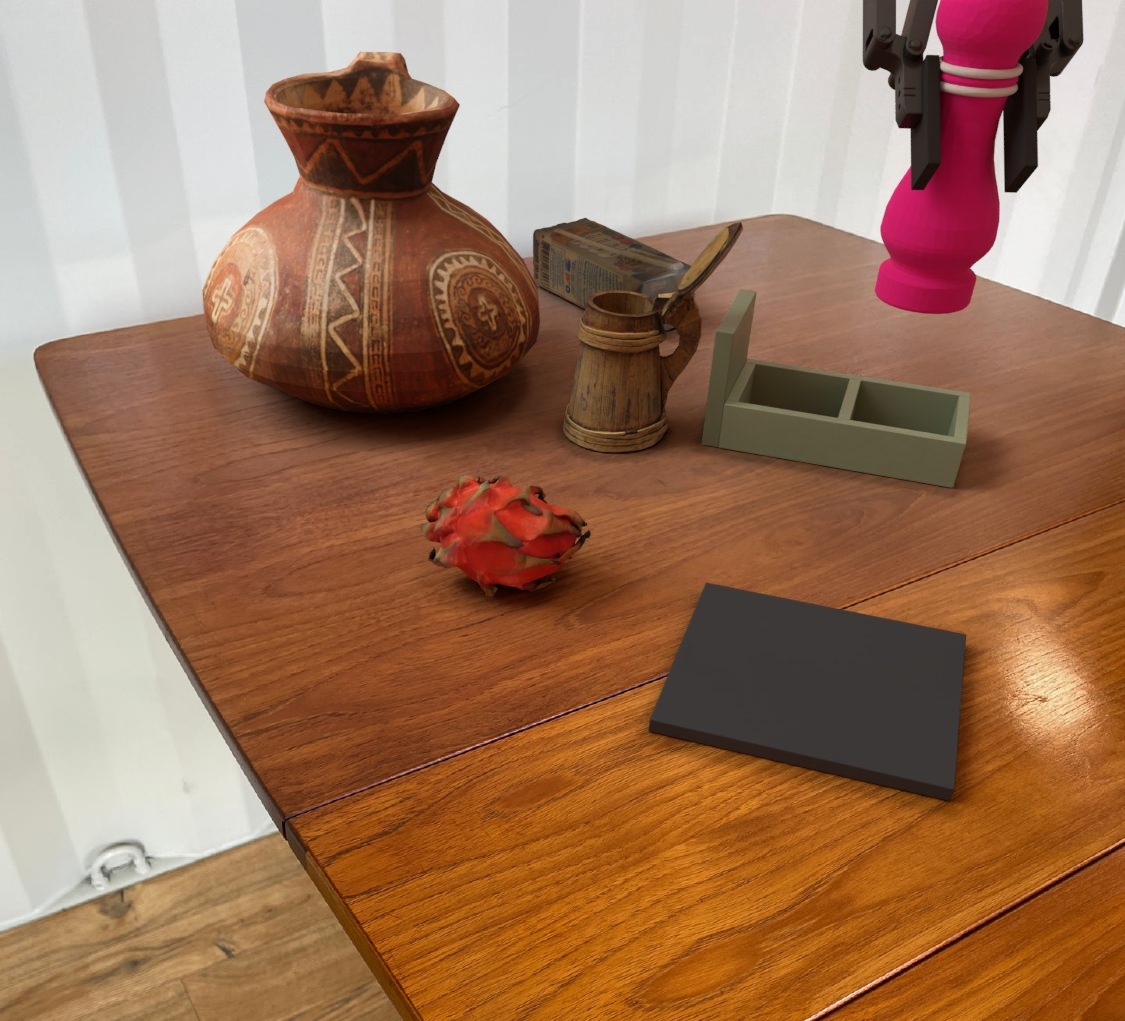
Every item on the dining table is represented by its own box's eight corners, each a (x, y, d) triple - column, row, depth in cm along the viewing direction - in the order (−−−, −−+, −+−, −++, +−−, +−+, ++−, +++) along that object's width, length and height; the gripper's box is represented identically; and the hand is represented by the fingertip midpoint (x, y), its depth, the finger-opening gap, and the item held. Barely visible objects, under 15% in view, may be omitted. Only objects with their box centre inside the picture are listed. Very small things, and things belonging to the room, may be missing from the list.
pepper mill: (971, 325, 69) (1082, -67, 55) (858, 307, 71) (938, -77, 57) (981, 288, 74) (1084, -78, 60) (875, 273, 76) (952, -87, 62)
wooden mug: (713, 463, 92) (743, 240, 80) (556, 448, 93) (563, 226, 81) (716, 418, 99) (744, 205, 87) (569, 404, 100) (577, 193, 88)
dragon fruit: (412, 589, 79) (572, 610, 81) (412, 584, 71) (590, 607, 73) (425, 472, 79) (587, 495, 80) (426, 453, 70) (606, 479, 72)
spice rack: (958, 435, 98) (991, 324, 91) (952, 488, 90) (988, 371, 84) (725, 397, 102) (740, 288, 96) (701, 445, 95) (715, 330, 88)
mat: (962, 645, 74) (966, 633, 73) (950, 801, 62) (954, 789, 62) (704, 593, 77) (705, 581, 77) (648, 731, 66) (649, 719, 65)
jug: (586, 423, 97) (601, 106, 80) (247, 474, 88) (185, 130, 72) (480, 306, 118) (475, 34, 101) (197, 338, 109) (139, 45, 92)
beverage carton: (637, 341, 112) (642, 275, 107) (528, 286, 123) (529, 224, 118) (694, 325, 115) (701, 260, 111) (583, 273, 126) (586, 212, 122)
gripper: (1082, -138, 69) (1089, 216, 68) (802, -148, 68) (805, 209, 67) (1150, -252, 62) (1160, 144, 61) (837, -265, 61) (841, 135, 60)
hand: (973, 177), depth 64 cm, fingers closed on pepper mill, 5 cm apart
